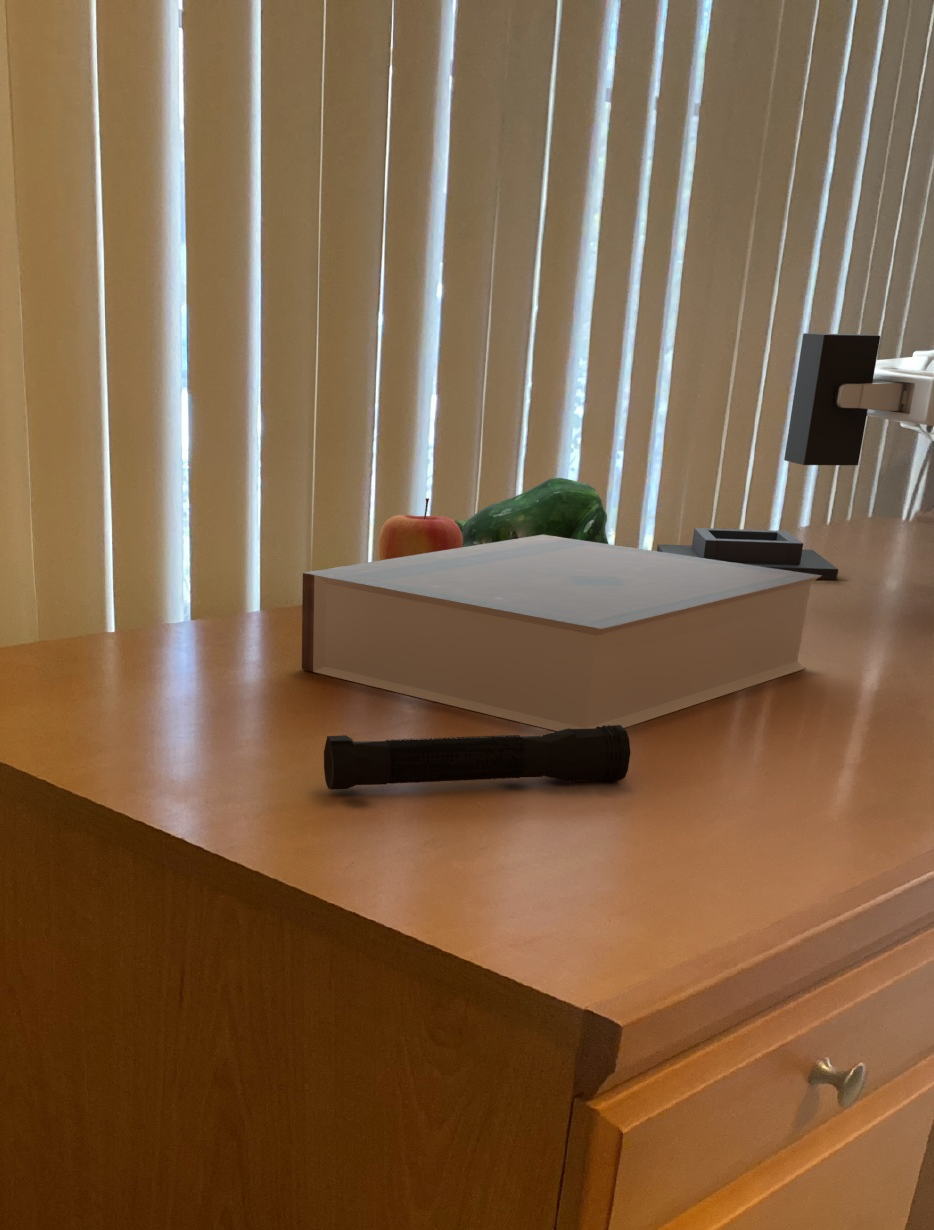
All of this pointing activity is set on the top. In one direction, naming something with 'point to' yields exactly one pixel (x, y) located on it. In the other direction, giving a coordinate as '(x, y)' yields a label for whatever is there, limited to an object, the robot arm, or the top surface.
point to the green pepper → (541, 515)
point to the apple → (418, 535)
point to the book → (555, 629)
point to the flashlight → (479, 758)
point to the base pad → (755, 550)
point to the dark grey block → (829, 399)
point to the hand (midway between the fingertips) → (822, 393)
